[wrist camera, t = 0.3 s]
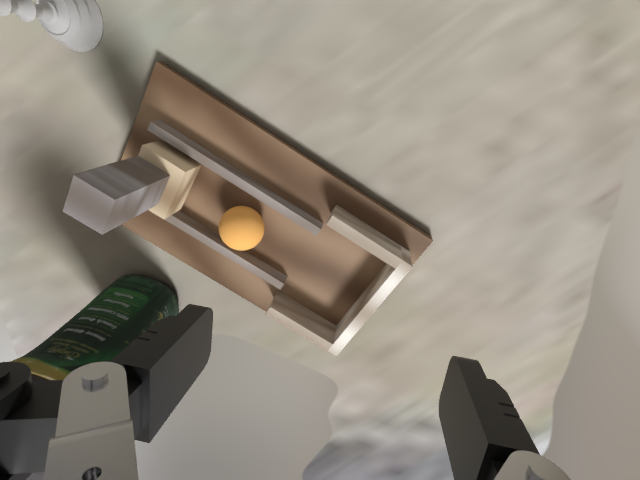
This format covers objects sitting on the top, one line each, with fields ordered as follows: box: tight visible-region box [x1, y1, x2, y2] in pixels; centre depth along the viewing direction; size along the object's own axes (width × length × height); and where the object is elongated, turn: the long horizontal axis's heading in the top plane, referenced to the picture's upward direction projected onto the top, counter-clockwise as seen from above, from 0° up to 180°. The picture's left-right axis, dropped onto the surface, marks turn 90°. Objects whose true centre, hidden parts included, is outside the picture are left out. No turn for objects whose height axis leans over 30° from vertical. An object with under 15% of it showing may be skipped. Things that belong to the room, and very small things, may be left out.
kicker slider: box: [63, 140, 201, 235], centre depth 29 cm, size 5×4×10 cm
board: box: [121, 61, 433, 356], centre depth 34 cm, size 16×28×4 cm, turn 59°
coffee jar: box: [11, 275, 178, 480], centre depth 34 cm, size 10×8×19 cm
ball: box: [219, 206, 264, 251], centre depth 33 cm, size 4×4×4 cm
